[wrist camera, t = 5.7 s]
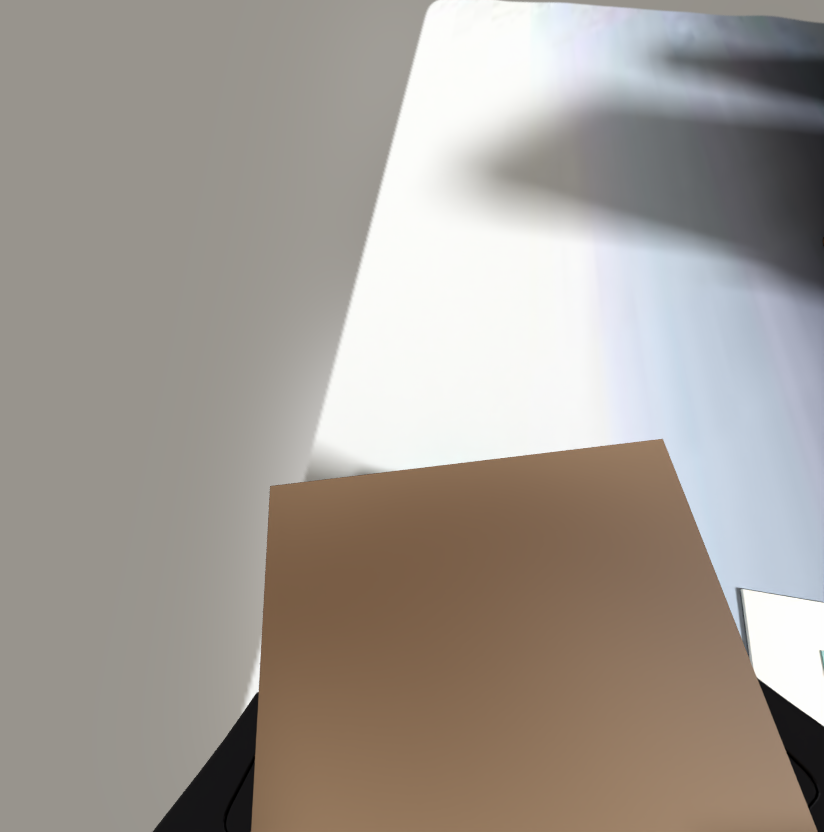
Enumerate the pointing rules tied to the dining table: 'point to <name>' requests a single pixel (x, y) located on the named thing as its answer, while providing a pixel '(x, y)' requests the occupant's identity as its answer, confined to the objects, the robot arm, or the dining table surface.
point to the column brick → (508, 657)
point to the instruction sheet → (787, 647)
